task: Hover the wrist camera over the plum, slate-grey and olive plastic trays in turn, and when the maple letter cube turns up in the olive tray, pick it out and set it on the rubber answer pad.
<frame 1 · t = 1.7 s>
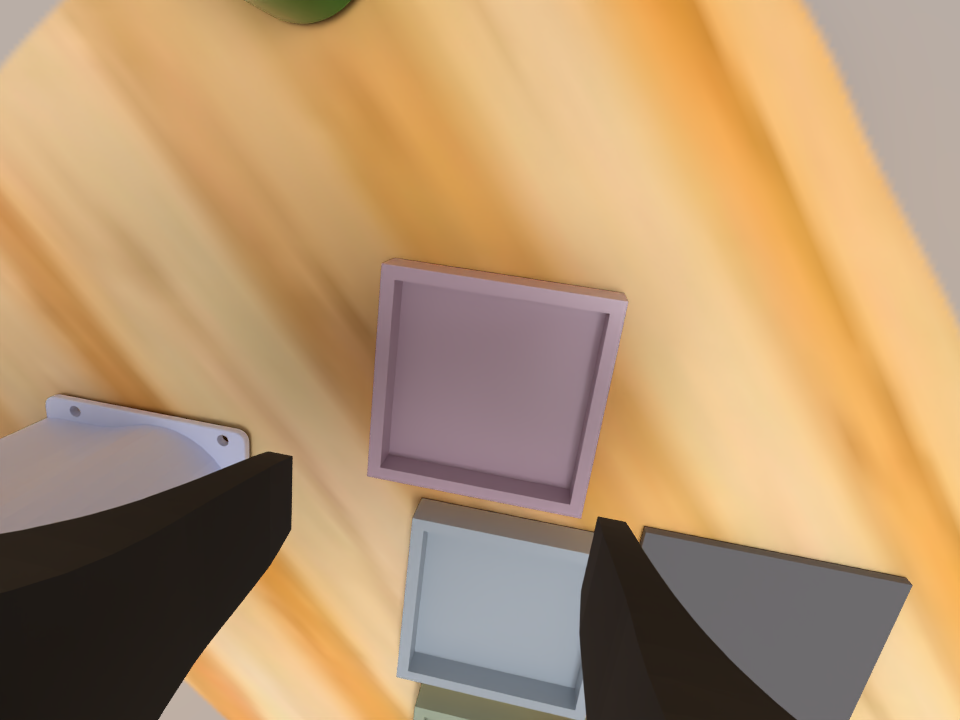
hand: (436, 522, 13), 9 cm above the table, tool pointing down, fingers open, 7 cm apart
tray mid: (505, 598, 24), on the table
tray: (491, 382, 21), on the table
answer pad: (737, 648, 23), on the table
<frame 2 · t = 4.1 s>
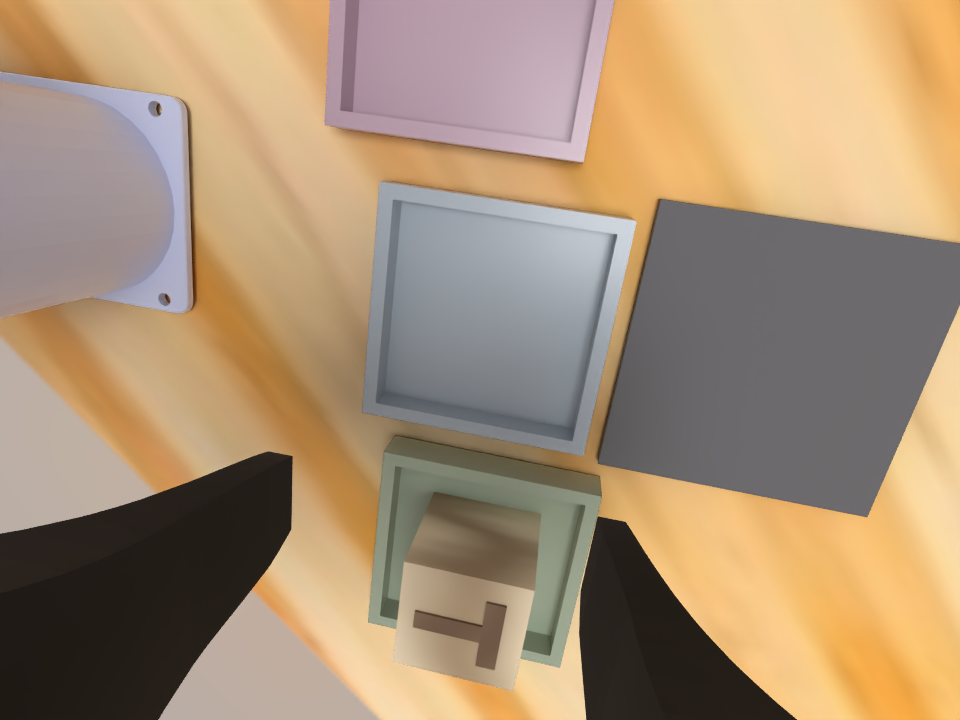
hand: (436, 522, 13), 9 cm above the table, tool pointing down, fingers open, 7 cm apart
tray mid: (492, 315, 21), on the table
letter cube: (479, 547, 23), resting on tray
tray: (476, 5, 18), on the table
answer pad: (766, 363, 20), on the table
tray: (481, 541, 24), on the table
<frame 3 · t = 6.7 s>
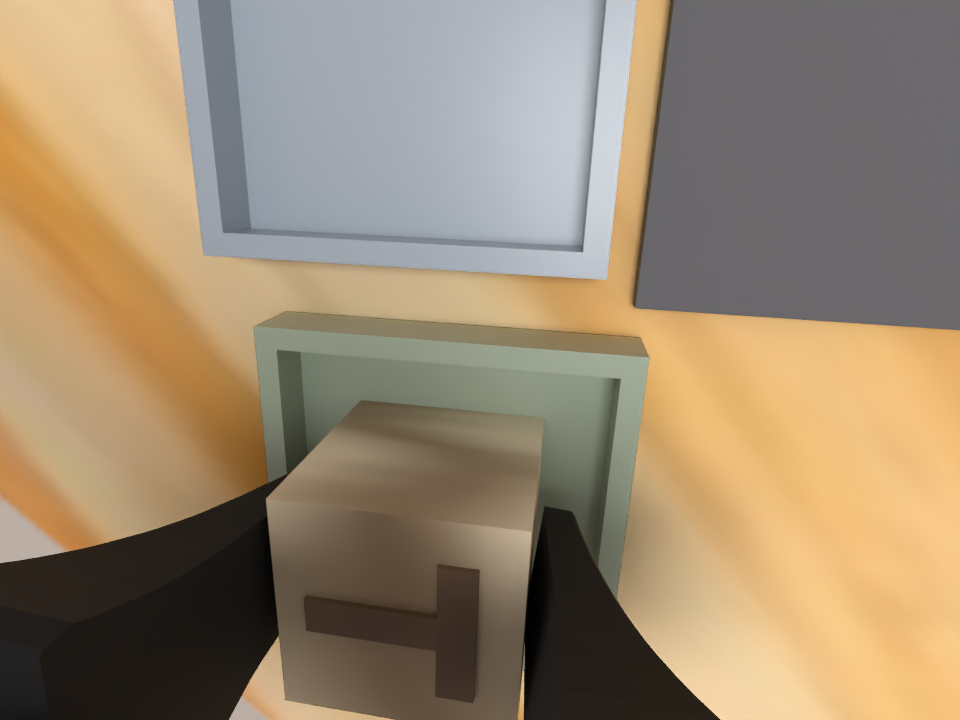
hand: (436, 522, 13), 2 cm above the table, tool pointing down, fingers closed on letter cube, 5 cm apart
tray mid: (414, 49, 11), on the table
letter cube: (448, 490, 14), resting on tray, touching gripper
answer pad: (949, 52, 10), on the table
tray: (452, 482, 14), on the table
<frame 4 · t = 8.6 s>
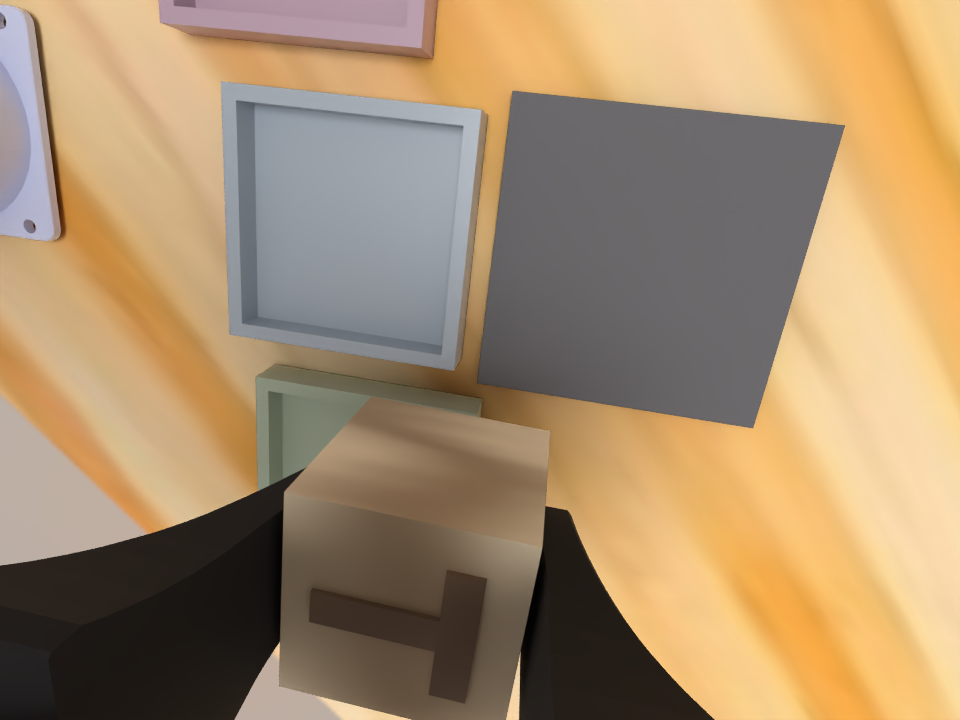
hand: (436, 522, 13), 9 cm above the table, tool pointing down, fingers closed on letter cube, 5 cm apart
tray mid: (359, 229, 20), on the table
letter cube: (448, 492, 14), point 7 cm above the table, touching gripper
answer pad: (638, 267, 19), on the table
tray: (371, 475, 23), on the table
when the fingers open (3 cm above the table, at t = 10.6 s): letter cube stays where it is, resting on answer pad.
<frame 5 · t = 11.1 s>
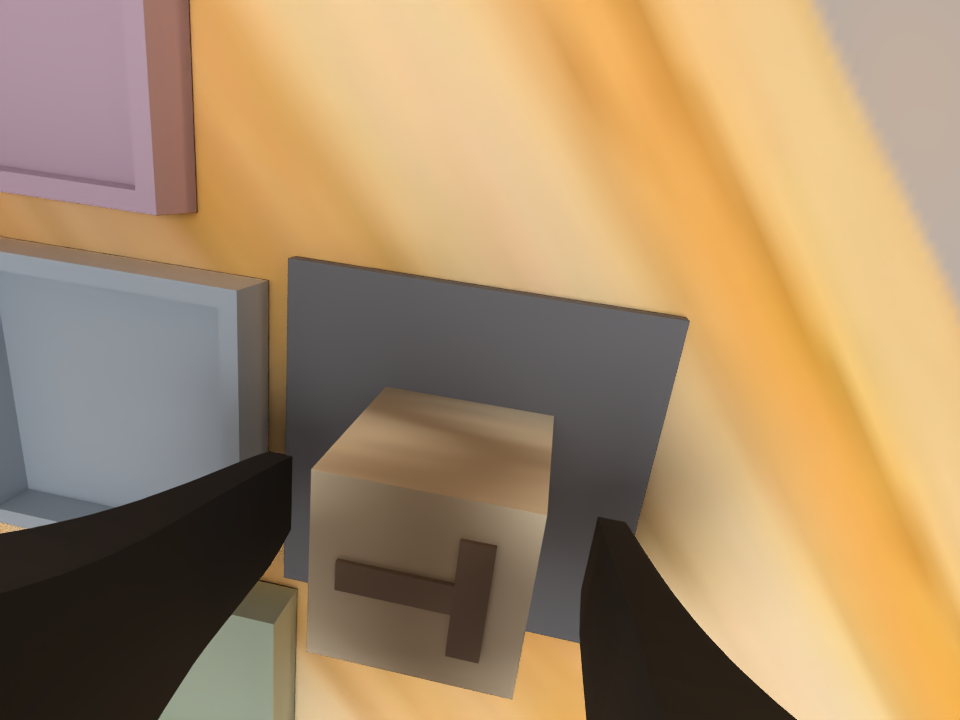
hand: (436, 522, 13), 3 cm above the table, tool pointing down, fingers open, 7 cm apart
tray mid: (135, 398, 17), on the table
letter cube: (459, 475, 15), resting on answer pad
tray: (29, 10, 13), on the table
answer pad: (460, 460, 15), on the table
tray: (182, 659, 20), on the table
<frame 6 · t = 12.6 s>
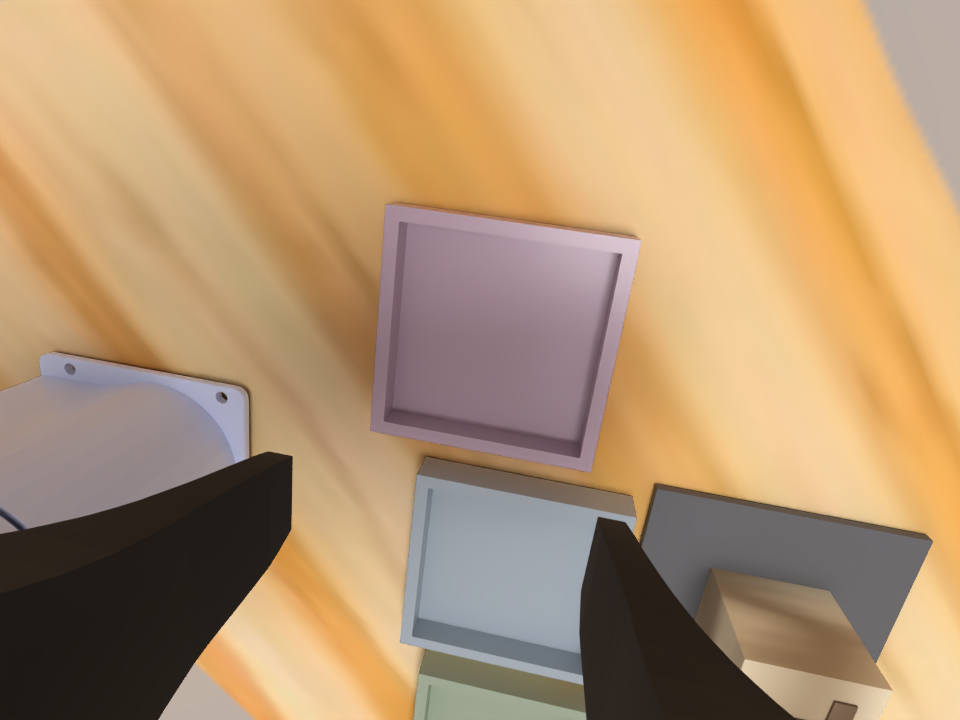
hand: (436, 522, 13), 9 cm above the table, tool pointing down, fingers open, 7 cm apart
tray mid: (512, 561, 24), on the table
letter cube: (753, 623, 22), resting on answer pad
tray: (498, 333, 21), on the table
answer pad: (750, 611, 23), on the table
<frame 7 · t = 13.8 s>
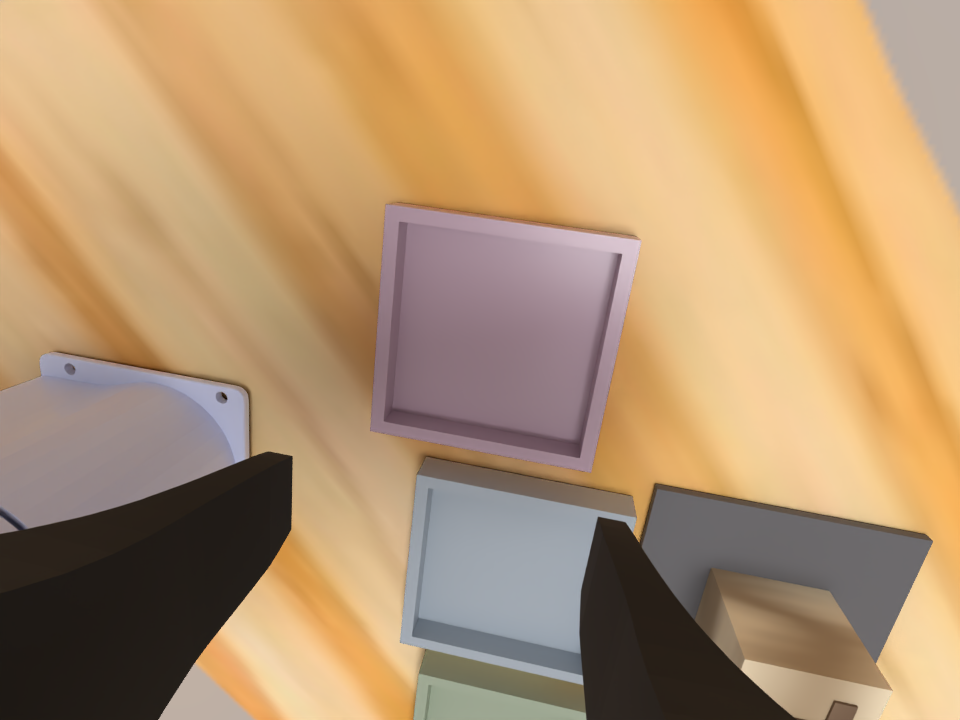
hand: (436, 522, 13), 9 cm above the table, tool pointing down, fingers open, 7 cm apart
tray mid: (512, 561, 24), on the table
letter cube: (753, 623, 22), resting on answer pad
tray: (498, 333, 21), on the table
answer pad: (750, 611, 23), on the table
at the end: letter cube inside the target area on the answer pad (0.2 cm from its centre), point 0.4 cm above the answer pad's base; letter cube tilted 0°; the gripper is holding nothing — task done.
